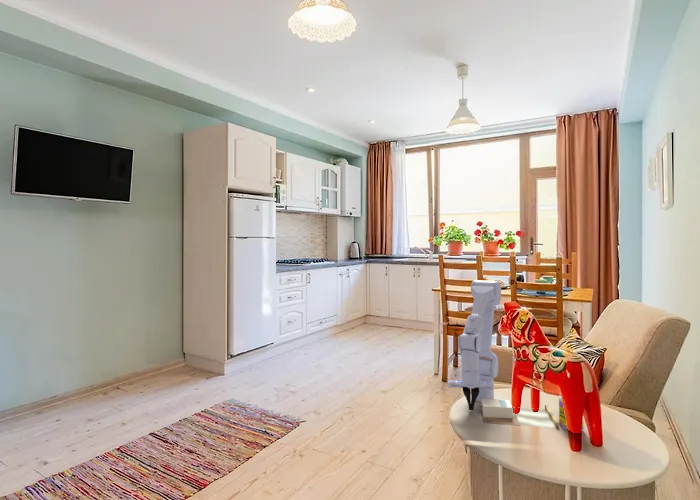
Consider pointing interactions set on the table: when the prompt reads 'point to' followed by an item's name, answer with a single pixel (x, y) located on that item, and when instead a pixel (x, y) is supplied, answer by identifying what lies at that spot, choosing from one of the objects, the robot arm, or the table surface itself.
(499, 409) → the carton
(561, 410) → the supplement bottle
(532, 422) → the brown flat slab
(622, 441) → the table surface
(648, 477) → the table surface
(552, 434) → the table surface
